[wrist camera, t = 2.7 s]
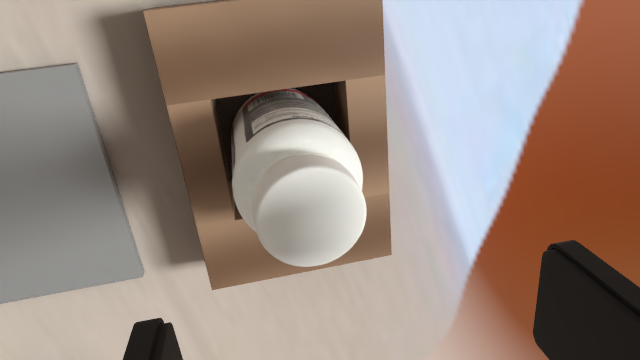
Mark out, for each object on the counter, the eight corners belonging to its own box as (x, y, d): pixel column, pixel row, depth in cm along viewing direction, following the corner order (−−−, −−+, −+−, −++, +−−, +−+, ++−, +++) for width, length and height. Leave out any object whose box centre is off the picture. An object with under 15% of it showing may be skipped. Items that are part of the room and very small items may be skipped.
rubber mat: (-162, 92, 20) (-171, 95, 19) (77, 62, 21) (73, 64, 20) (-43, 306, 25) (-48, 312, 24) (144, 271, 26) (142, 277, 25)
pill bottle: (303, 192, 26) (342, 300, 17) (214, 159, 24) (207, 260, 15) (345, 109, 24) (413, 180, 15) (254, 67, 22) (272, 120, 14)
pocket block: (154, 7, 21) (143, 11, 18) (362, -16, 22) (381, -16, 19) (213, 258, 26) (212, 290, 24) (375, 228, 28) (391, 254, 25)
